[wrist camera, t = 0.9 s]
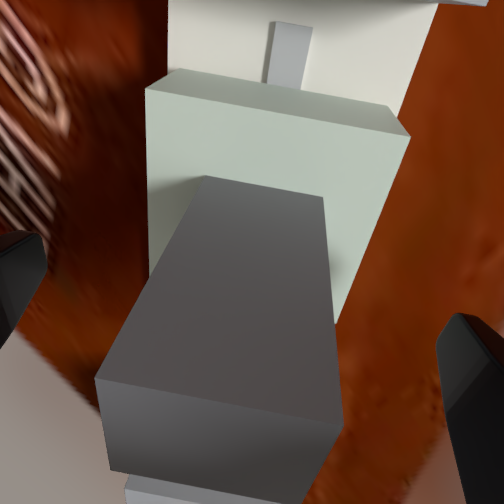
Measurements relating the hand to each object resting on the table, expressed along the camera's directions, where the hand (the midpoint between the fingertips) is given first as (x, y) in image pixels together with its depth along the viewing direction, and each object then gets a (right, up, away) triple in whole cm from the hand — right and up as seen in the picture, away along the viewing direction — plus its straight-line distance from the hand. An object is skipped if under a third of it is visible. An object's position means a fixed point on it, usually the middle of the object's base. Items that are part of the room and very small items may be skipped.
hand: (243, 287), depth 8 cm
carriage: (+1, +3, +4) cm, 5 cm away
